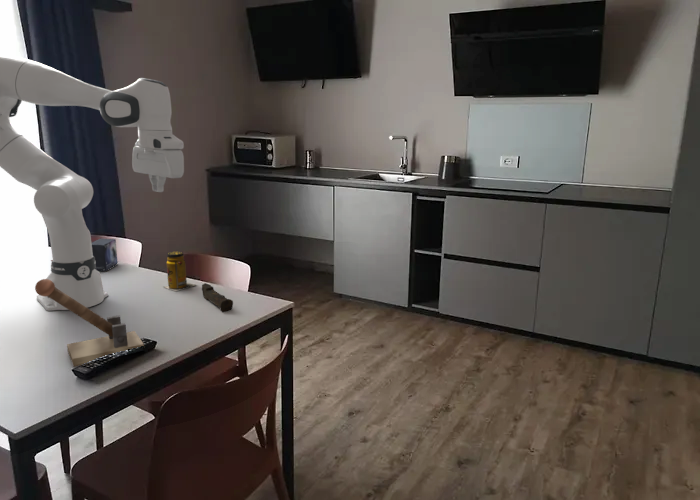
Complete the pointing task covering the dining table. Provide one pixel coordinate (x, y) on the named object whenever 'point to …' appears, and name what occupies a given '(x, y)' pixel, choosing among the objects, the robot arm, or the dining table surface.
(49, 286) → the lever
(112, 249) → the small box
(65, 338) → the dining table surface
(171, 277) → the condiment
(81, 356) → the press base
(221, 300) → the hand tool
